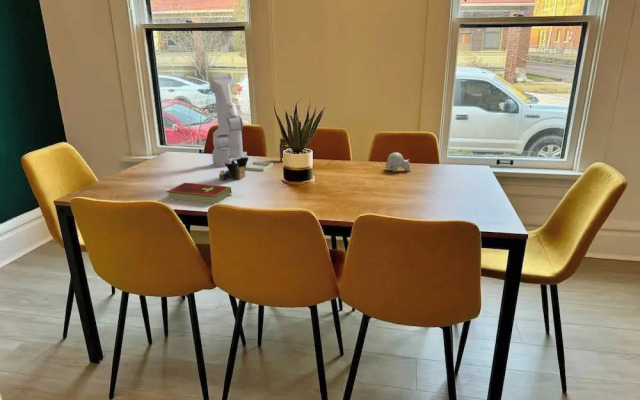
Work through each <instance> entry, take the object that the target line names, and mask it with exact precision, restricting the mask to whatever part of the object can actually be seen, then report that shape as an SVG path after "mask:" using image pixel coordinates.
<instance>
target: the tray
mask: <svg viewBox="0 0 640 400" xmlns="http://www.w3.org/2000/svg"><path fill="white" fill-rule="evenodd" d="M253 165H261V166H265V167H263V168H262V167H261V168H259V167H251V166H253ZM272 167H274V162H265V161H251V162H249V163H247V164H246V168H245V171H253V172H254V171H255V172H265V171H267V170H268V169H270V168H272Z"/></svg>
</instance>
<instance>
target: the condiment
mask: <svg viewBox="0 0 640 400" xmlns="http://www.w3.org/2000/svg"><path fill="white" fill-rule="evenodd" d="M284 138H285V137H282V138H280V139H279V140H280V142H279V162H282V158H283V151H284V150H286V149H287V148H288V145H287V143H286V142H285V140H284Z"/></svg>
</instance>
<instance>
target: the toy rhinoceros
mask: <svg viewBox="0 0 640 400" xmlns="http://www.w3.org/2000/svg"><path fill="white" fill-rule="evenodd" d="M409 160H410V158H409V159H404V156H403V155H402V153H400V152H397V151H396V152H392V153H390V154H388V158H387V161H386V162H385V164H384V165H385V168H386V169H387V170H390V171H392V172H393V173H396V172H398V168H401V169H403V170H405V172H410V171H411V169H412V168H413V164H412V165H410V161H409Z"/></svg>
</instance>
